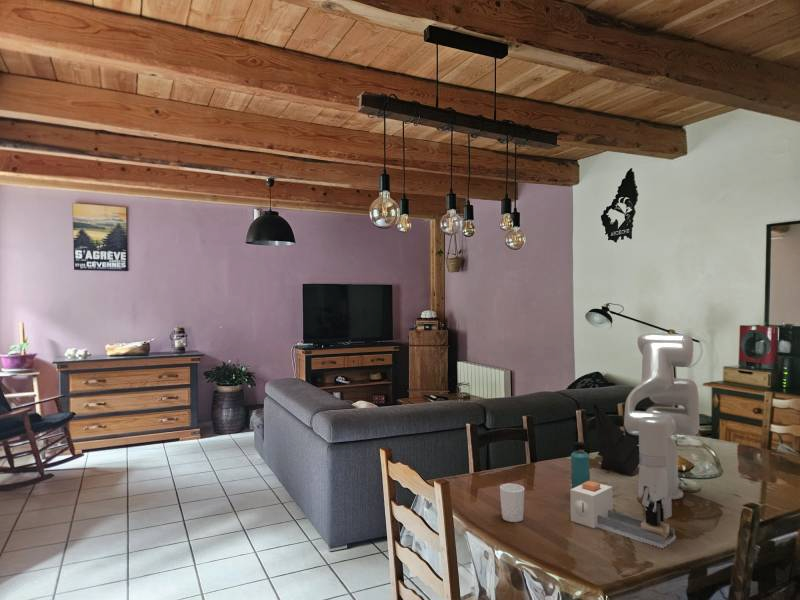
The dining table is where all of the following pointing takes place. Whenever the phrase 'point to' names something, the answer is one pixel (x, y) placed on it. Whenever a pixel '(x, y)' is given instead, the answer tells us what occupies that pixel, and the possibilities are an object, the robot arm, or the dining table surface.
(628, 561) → the dining table surface
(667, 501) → the light grey block
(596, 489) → the button
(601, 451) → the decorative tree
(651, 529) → the carriage
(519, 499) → the white cup
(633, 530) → the rail
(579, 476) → the beverage bottle
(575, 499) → the gauge cabinet
